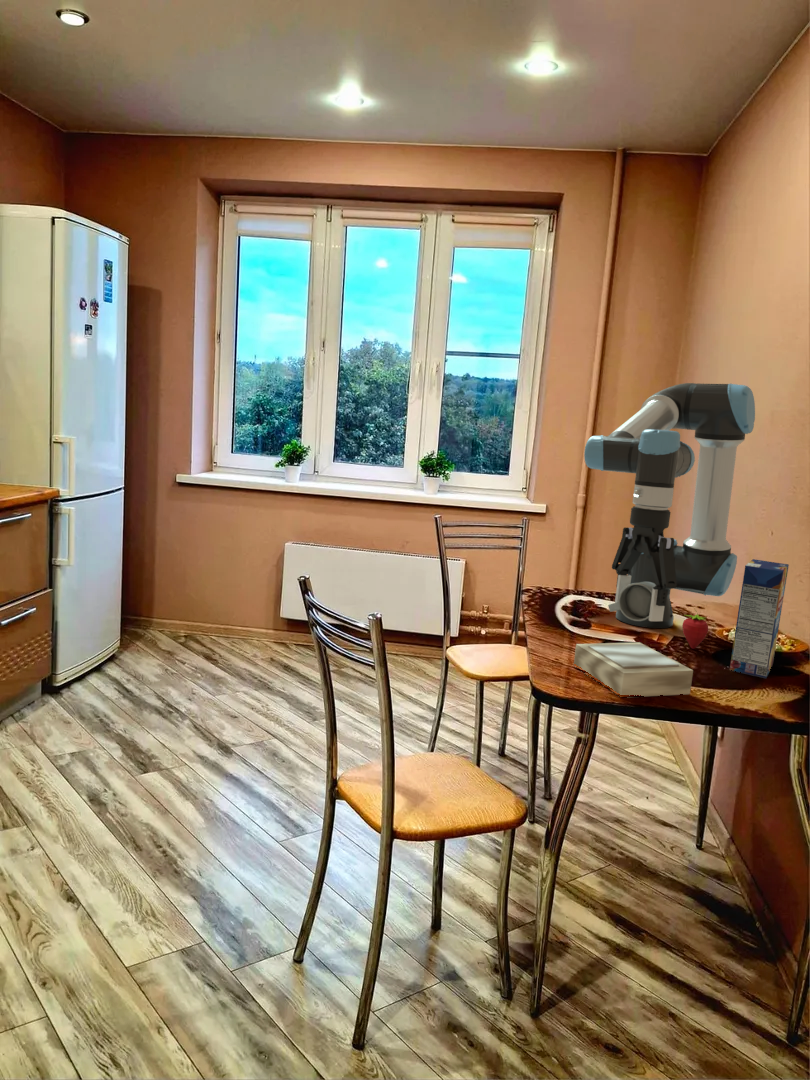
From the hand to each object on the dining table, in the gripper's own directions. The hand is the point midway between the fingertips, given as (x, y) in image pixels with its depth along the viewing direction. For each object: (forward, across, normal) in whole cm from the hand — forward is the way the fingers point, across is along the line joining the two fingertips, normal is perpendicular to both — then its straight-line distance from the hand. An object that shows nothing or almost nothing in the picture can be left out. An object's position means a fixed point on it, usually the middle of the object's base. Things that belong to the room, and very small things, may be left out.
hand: (637, 612), depth 148 cm
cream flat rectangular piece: (+14, 0, 0) cm, 14 cm away
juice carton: (+15, -4, +35) cm, 38 cm away
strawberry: (+14, -18, +30) cm, 38 cm away
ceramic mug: (+1, 0, 0) cm, 1 cm away
